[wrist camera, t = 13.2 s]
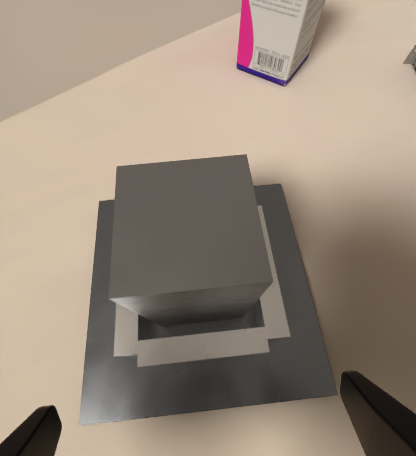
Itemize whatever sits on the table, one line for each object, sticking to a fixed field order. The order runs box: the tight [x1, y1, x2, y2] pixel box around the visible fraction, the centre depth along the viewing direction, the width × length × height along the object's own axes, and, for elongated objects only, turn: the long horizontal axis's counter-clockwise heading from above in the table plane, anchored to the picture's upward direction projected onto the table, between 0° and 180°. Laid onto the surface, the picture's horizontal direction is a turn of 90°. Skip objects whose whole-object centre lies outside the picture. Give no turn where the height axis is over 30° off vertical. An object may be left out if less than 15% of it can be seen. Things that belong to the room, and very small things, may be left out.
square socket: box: [79, 184, 337, 426], centre depth 16 cm, size 14×14×3 cm
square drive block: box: [109, 154, 273, 327], centre depth 13 cm, size 5×5×9 cm
